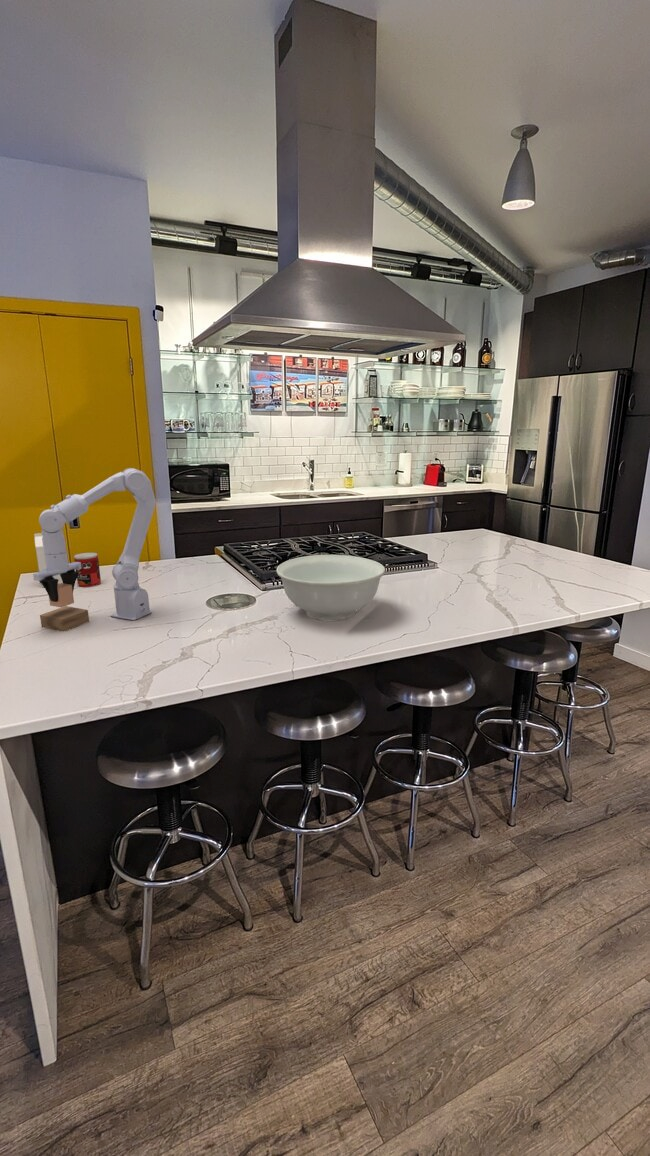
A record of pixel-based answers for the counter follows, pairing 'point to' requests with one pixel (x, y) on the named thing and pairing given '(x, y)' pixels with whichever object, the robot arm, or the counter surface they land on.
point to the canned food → (88, 569)
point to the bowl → (330, 584)
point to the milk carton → (42, 555)
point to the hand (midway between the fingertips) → (62, 598)
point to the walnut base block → (64, 618)
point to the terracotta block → (63, 595)
